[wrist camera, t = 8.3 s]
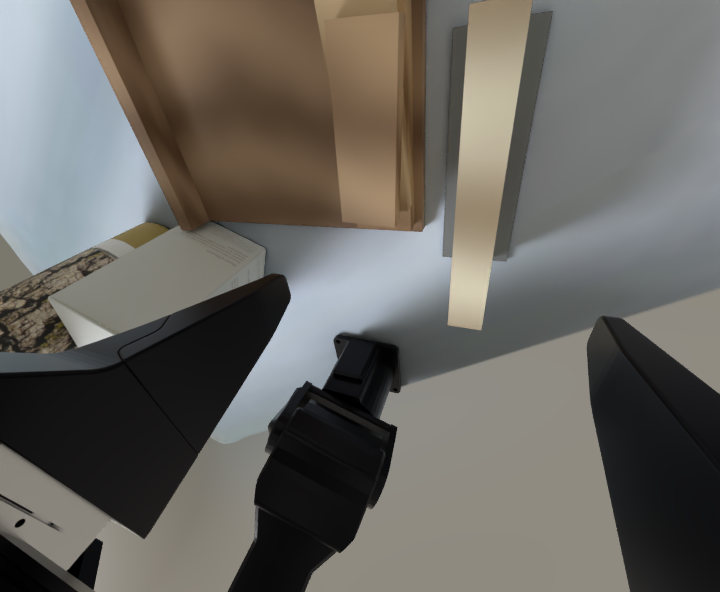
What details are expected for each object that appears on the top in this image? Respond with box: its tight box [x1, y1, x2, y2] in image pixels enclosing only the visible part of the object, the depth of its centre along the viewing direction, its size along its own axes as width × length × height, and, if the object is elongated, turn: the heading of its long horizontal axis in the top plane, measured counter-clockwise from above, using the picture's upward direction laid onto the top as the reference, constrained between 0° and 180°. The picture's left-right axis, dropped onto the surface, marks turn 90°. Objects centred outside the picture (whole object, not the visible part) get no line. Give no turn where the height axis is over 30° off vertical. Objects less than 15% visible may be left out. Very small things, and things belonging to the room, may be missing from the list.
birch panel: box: [448, 0, 533, 330], centre depth 14 cm, size 12×2×7 cm, turn 8°
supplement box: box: [48, 221, 266, 348], centre depth 25 cm, size 7×7×13 cm
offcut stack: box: [314, 0, 414, 231], centre depth 16 cm, size 13×4×3 cm, turn 8°
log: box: [0, 223, 169, 353], centre depth 23 cm, size 7×7×25 cm
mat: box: [443, 11, 553, 261], centre depth 17 cm, size 12×4×1 cm, turn 8°
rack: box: [70, 0, 426, 232], centre depth 19 cm, size 14×19×3 cm
